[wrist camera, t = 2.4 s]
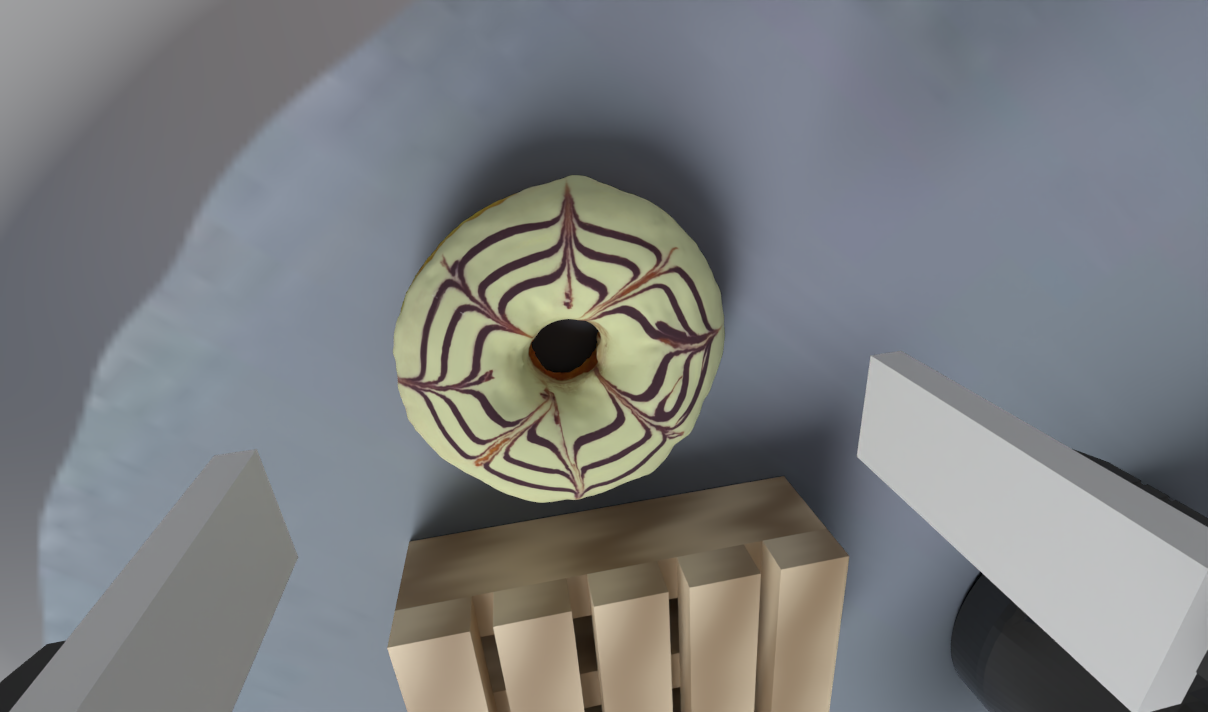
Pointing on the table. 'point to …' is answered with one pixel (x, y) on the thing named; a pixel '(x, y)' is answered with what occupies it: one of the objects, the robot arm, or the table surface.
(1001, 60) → the table surface
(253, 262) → the table surface
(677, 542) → the pallet
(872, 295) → the table surface
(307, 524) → the table surface
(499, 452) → the decorated donut
